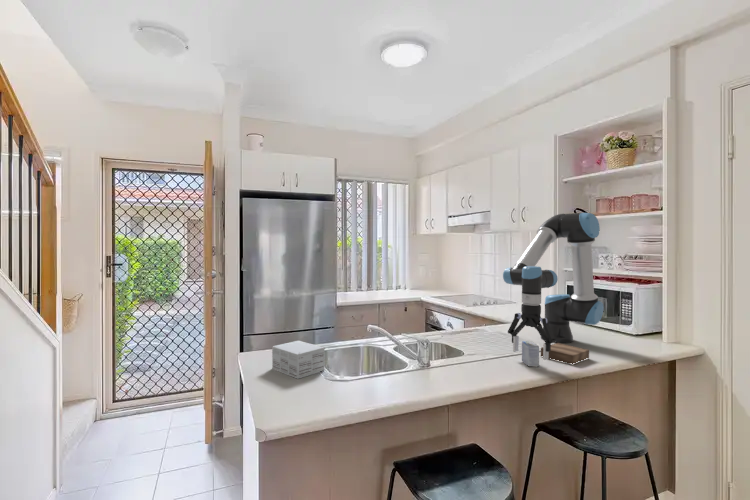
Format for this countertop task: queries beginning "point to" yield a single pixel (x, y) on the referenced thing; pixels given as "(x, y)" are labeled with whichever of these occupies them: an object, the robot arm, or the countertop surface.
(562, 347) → the walnut base block
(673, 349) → the countertop surface
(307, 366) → the supplement box
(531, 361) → the medicine box
